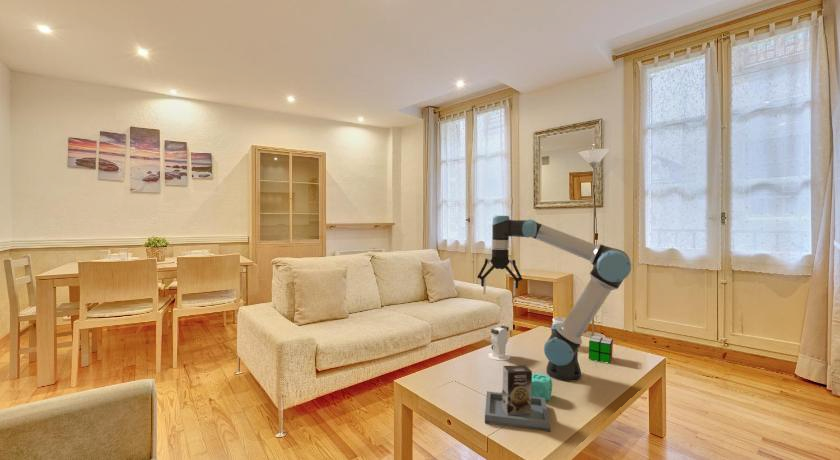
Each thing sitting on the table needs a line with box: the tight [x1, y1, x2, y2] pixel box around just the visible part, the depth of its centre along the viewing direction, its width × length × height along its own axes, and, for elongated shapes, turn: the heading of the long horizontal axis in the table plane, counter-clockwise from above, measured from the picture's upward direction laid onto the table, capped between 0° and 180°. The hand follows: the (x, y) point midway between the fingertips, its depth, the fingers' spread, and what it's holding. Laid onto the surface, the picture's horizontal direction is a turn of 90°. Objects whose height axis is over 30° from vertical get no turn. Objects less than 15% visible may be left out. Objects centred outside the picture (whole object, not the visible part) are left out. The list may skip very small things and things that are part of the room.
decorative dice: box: [531, 373, 553, 402], centre depth 151 cm, size 8×8×8 cm
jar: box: [552, 316, 567, 325], centre depth 211 cm, size 11×10×15 cm
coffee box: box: [501, 364, 533, 416], centre depth 138 cm, size 9×6×16 cm
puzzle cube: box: [588, 335, 614, 364], centre depth 193 cm, size 10×10×10 cm
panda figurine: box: [487, 325, 511, 362], centre depth 194 cm, size 12×11×15 cm
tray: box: [484, 391, 551, 432], centre depth 138 cm, size 22×18×3 cm
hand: (499, 294), depth 173 cm, fingers open, 13 cm apart
